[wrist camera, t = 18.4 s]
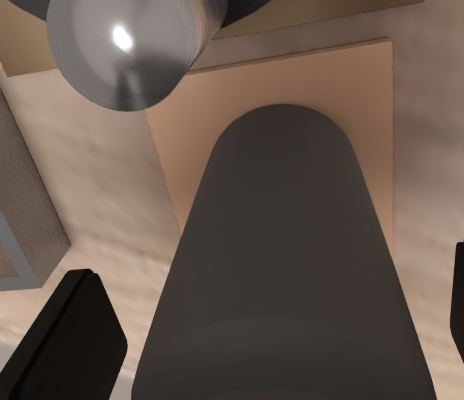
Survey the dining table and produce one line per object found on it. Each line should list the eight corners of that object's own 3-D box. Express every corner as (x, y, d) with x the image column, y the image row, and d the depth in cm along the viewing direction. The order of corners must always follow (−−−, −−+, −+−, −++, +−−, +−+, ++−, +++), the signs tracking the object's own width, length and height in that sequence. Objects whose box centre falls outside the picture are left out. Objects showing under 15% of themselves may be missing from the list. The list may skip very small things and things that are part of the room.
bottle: (382, 196, 17) (668, 934, 4) (257, 253, 19) (206, 868, 7) (311, 70, 15) (475, 819, 2) (179, 150, 17) (-131, 774, 4)
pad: (388, 37, 15) (392, 40, 14) (390, 248, 19) (393, 256, 19) (141, 79, 16) (136, 83, 16) (194, 265, 21) (192, 273, 20)
